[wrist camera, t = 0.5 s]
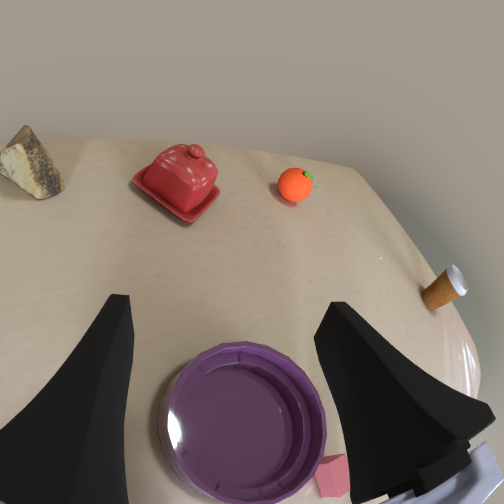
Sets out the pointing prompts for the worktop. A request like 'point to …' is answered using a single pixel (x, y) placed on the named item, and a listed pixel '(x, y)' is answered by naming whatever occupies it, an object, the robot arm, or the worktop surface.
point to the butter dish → (181, 181)
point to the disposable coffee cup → (445, 288)
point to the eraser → (333, 476)
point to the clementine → (295, 184)
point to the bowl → (243, 424)
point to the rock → (30, 165)
